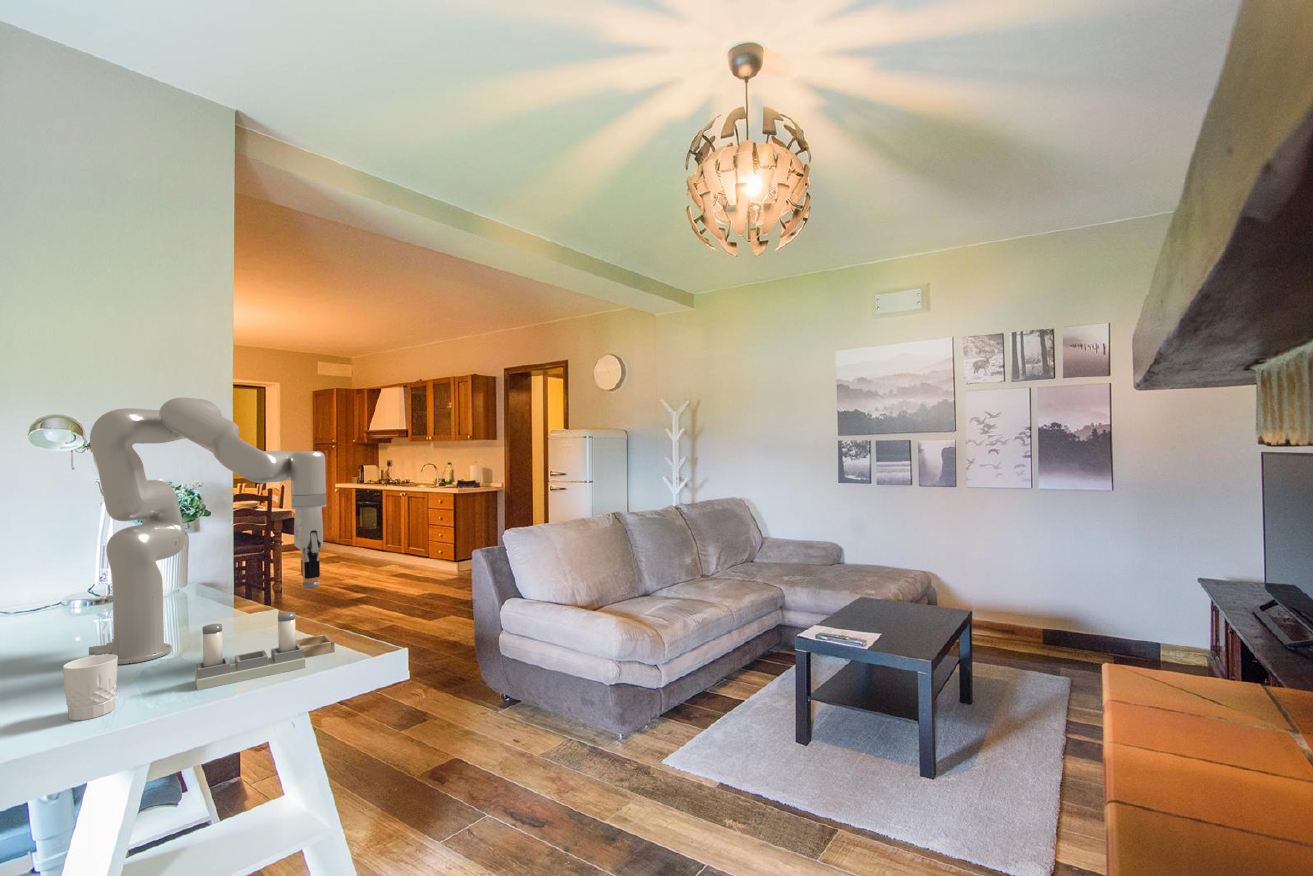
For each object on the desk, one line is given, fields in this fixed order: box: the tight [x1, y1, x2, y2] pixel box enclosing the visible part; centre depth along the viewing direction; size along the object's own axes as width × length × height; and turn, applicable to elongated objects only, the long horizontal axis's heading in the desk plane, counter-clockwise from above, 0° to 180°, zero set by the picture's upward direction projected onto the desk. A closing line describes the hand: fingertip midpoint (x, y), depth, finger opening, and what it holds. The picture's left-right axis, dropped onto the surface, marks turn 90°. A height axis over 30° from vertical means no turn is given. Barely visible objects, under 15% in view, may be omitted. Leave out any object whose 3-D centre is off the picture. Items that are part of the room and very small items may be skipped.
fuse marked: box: [301, 547, 320, 590], centre depth 158 cm, size 4×4×10 cm
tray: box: [296, 633, 335, 659], centre depth 158 cm, size 8×8×2 cm
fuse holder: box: [194, 644, 306, 691], centre depth 143 cm, size 20×7×4 cm, turn 128°
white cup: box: [62, 654, 119, 721], centre depth 124 cm, size 8×8×10 cm
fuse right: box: [277, 611, 297, 653], centre depth 148 cm, size 4×4×10 cm
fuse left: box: [201, 623, 224, 668], centre depth 139 cm, size 4×4×10 cm
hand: (310, 575), depth 158 cm, fingers closed on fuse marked, 3 cm apart
